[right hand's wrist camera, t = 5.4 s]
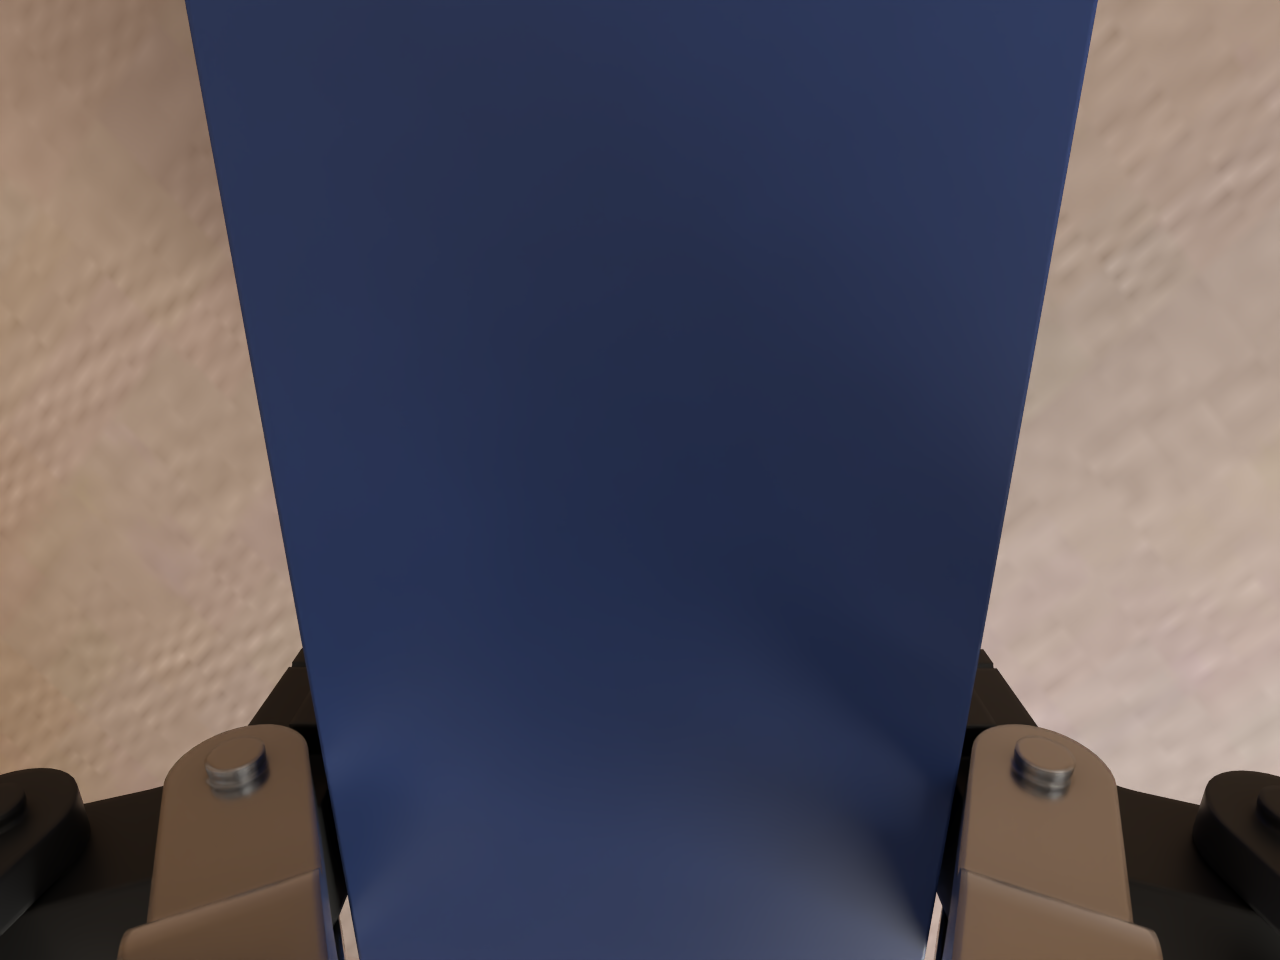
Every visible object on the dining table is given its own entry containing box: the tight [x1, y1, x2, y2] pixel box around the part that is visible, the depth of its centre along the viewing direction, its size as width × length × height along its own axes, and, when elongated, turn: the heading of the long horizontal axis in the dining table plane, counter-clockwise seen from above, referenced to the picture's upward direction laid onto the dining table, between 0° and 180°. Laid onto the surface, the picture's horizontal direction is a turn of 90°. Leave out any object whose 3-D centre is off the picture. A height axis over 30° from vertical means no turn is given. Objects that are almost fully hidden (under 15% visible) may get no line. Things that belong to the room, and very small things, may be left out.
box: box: [185, 0, 1098, 960], centre depth 10 cm, size 22×6×11 cm, turn 0°
